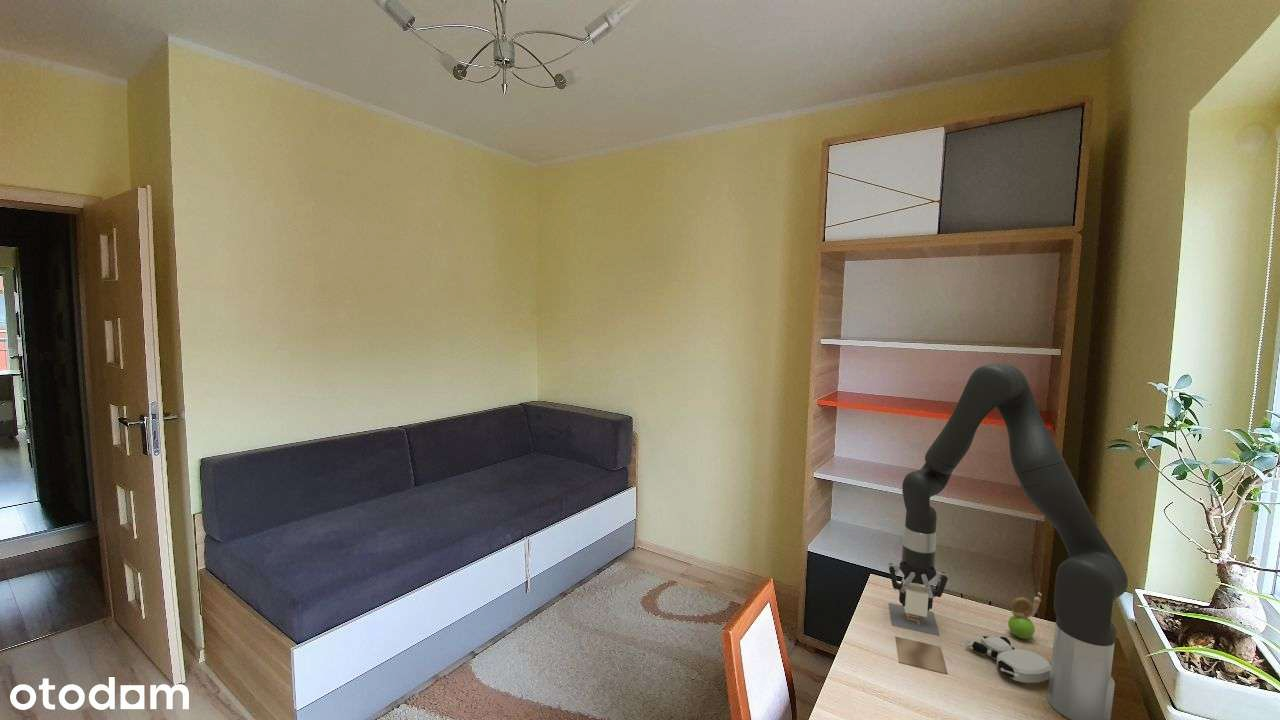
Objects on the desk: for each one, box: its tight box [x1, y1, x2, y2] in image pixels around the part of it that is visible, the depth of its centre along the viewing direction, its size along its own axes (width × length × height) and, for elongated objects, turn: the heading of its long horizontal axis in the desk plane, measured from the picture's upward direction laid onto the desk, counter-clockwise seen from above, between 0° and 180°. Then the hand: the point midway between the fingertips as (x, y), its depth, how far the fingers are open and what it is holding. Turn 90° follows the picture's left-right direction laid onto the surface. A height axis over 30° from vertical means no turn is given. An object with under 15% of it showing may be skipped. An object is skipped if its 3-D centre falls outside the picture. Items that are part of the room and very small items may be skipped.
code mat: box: [888, 602, 941, 637], centre depth 138 cm, size 11×11×1 cm
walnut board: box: [894, 635, 949, 676], centre depth 124 cm, size 10×10×1 cm
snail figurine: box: [1007, 592, 1043, 640], centre depth 131 cm, size 5×6×12 cm
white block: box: [904, 583, 929, 617], centre depth 137 cm, size 5×5×6 cm
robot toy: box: [965, 635, 1051, 684], centre depth 120 cm, size 12×4×15 cm
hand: (915, 606), depth 137 cm, fingers closed on white block, 5 cm apart
